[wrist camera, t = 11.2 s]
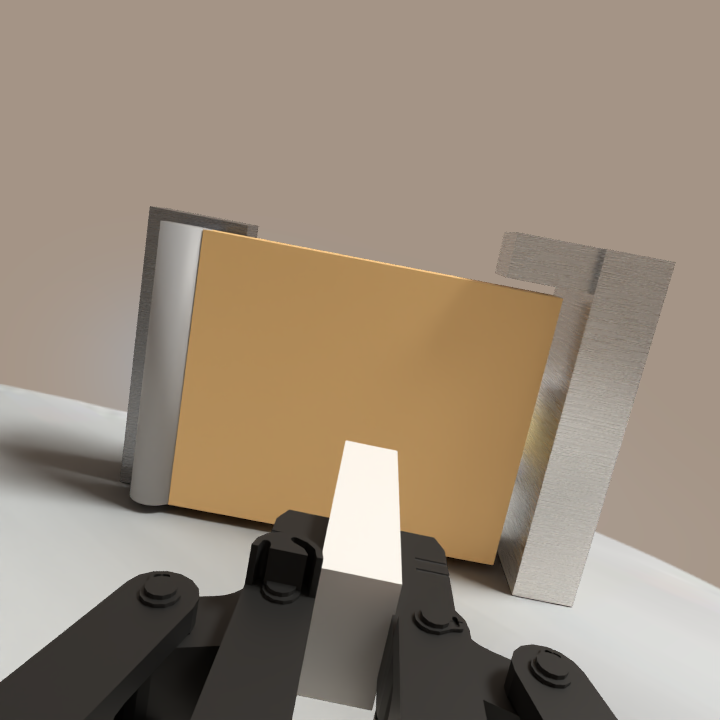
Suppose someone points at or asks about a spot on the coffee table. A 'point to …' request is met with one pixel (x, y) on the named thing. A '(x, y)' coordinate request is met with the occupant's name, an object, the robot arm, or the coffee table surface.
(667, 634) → the coffee table surface
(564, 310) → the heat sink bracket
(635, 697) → the coffee table surface
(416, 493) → the orange wooden board
